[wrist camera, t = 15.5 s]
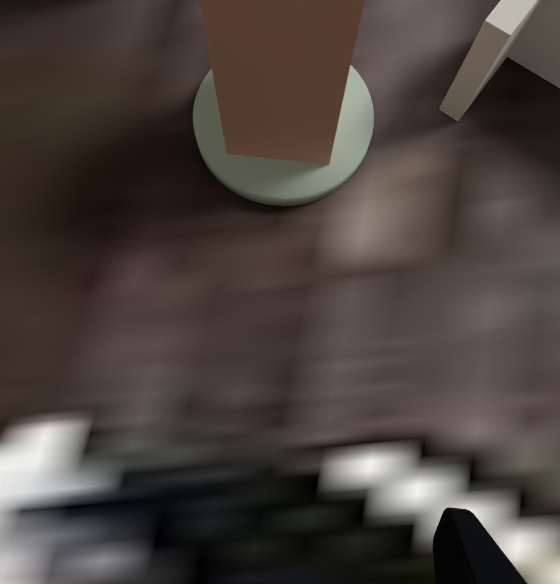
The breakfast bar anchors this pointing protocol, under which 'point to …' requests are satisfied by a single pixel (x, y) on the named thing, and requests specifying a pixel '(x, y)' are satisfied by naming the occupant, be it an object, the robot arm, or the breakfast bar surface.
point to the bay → (508, 49)
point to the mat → (285, 173)
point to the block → (280, 73)
